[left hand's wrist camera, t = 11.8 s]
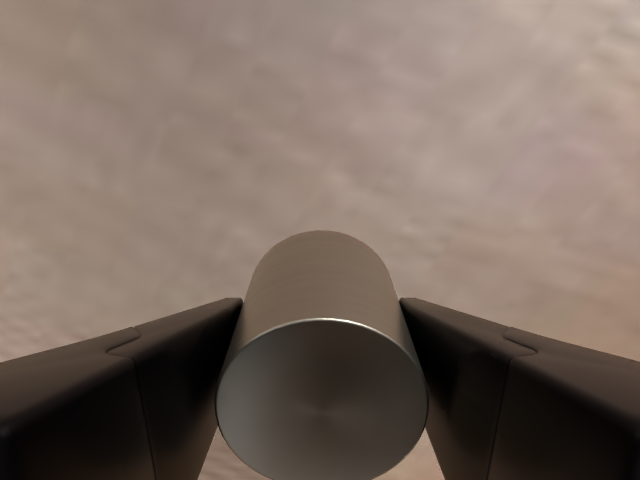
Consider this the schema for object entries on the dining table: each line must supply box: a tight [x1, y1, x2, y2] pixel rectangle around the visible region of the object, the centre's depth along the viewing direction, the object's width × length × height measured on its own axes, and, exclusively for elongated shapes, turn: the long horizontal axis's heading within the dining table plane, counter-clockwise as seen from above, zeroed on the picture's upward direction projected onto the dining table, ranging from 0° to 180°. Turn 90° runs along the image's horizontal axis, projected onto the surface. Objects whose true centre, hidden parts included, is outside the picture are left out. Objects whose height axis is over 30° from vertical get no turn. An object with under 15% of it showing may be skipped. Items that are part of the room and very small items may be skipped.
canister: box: [214, 231, 429, 480], centre depth 10 cm, size 4×4×4 cm
